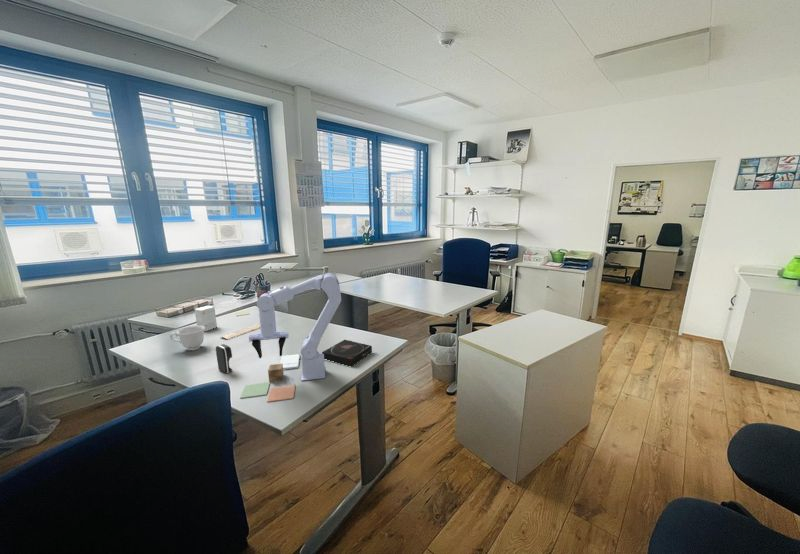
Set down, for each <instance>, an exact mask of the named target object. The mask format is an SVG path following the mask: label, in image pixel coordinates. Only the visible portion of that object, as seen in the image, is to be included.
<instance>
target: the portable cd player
mask: <svg viewBox="0 0 800 554" xmlns="http://www.w3.org/2000/svg"><path fill="white" fill-rule="evenodd" d="M321 352H322V353H321V354H324V359H327V360H330V361H329V362H331V361H334V362H333V363H335V362H337V363H336V364H338V363H340V364H339V365H342V364H344V365H343V366H345V365H347V367H349V366H351V367H350V368H352V367H354V366H355V365H356V364H358V363H359V362H361V361H362V360H363V358H364V357H365V358H366V357H368V356H369V355H371V354H372V353H373V346H372V345H370V344H365V343H361V342H356V341H354V340H353V341H352V340H348V339H343V340H341V341H339V342H337V343H336V344H334V345H333V346H330V347H329V348H327V349H325V350H323V351H321ZM371 352H372V353H371ZM370 353H371V354H370ZM368 354H369V355H368ZM367 355H368V356H367ZM365 358H364V359H365ZM361 359H362V360H361ZM327 360H326V361H327ZM360 360H361V361H360ZM357 362H358V363H357ZM354 364H355V365H354ZM353 365H354V366H353Z"/></svg>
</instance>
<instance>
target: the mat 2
mask: <svg viewBox="0 0 800 554" xmlns="http://www.w3.org/2000/svg"><path fill="white" fill-rule="evenodd" d="M269 389H270V390H269V393H268V397H267V401H266V402H267V403H272V402H280V401H286V400H294V397H295V389H296V384H295V385H294V384H292V385H286V386H285V385H284V386H278V387H270V388H269Z"/></svg>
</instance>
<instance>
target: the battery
mask: <svg viewBox="0 0 800 554" xmlns="http://www.w3.org/2000/svg"><path fill="white" fill-rule="evenodd" d="M215 354H216V359H217V360H216V361H217V368H218V371H221V372H222V373H225V374H228V373H231V372H232V371H233V369H232V368H231V366H230V360H231V358H233V353H232V348H231V347H230V345H227V344H224V343H223V344H219V345H217V346H215Z"/></svg>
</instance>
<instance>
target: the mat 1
mask: <svg viewBox="0 0 800 554" xmlns="http://www.w3.org/2000/svg"><path fill="white" fill-rule="evenodd" d="M270 384H271V382H269V381H266V382H258V383H249V384H245V385H244V388H243V391H242V392H241V395H240V399H246V398H247V399H248V398H255V397H256V398H257V397H263V396H267V395H268V392H269V389H270V386H271V385H270Z"/></svg>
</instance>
